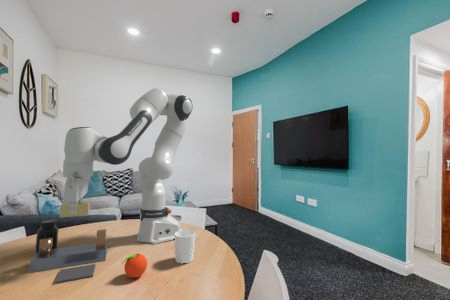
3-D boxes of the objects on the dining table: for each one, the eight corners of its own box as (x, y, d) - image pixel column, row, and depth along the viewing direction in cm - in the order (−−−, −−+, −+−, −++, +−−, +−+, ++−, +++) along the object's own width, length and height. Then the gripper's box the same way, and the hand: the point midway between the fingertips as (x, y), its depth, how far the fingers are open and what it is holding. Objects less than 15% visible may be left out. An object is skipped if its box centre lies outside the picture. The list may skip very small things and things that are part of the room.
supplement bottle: (44, 255, 83) (46, 224, 83) (30, 253, 84) (32, 222, 85) (61, 248, 90) (63, 219, 90) (48, 247, 91) (49, 218, 92)
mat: (95, 265, 76) (95, 263, 76) (92, 276, 69) (92, 274, 69) (60, 271, 72) (60, 269, 72) (53, 284, 65) (54, 282, 65)
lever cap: (89, 212, 80) (90, 201, 80) (87, 215, 75) (88, 203, 76) (63, 213, 77) (64, 202, 77) (59, 217, 72) (60, 205, 72)
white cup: (198, 257, 84) (198, 231, 85) (188, 266, 77) (189, 238, 78) (180, 254, 87) (181, 229, 88) (169, 262, 80) (170, 235, 80)
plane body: (106, 251, 87) (108, 226, 88) (105, 260, 80) (106, 233, 81) (37, 262, 78) (39, 234, 78) (29, 272, 71) (31, 241, 71)
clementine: (122, 286, 65) (123, 261, 65) (118, 275, 70) (119, 253, 71) (149, 277, 69) (150, 255, 70) (143, 268, 75) (144, 247, 75)
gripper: (83, 173, 69) (81, 217, 68) (92, 170, 87) (90, 204, 87) (59, 173, 66) (56, 219, 65) (73, 170, 85) (71, 205, 84)
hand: (76, 210), depth 76 cm, fingers closed on lever cap, 5 cm apart
